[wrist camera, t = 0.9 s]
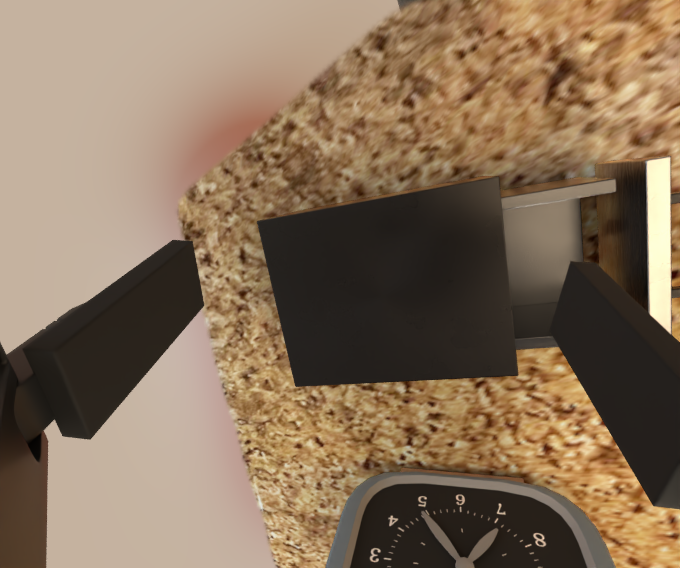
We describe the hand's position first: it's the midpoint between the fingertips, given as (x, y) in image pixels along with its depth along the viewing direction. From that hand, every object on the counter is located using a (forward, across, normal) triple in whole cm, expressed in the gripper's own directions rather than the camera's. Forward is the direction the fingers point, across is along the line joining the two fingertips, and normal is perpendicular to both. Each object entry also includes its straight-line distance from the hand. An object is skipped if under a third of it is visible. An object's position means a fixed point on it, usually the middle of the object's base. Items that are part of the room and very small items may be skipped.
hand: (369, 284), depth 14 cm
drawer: (+18, +13, -5) cm, 23 cm away
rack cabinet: (+20, +2, -8) cm, 21 cm away
